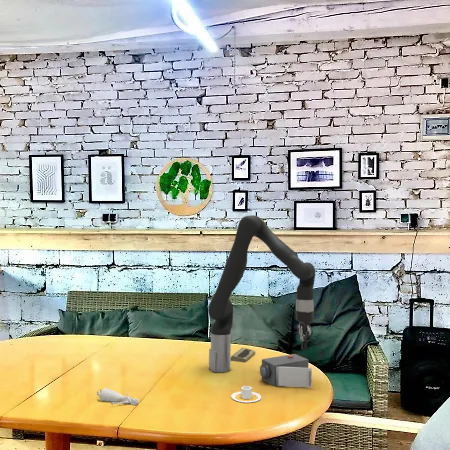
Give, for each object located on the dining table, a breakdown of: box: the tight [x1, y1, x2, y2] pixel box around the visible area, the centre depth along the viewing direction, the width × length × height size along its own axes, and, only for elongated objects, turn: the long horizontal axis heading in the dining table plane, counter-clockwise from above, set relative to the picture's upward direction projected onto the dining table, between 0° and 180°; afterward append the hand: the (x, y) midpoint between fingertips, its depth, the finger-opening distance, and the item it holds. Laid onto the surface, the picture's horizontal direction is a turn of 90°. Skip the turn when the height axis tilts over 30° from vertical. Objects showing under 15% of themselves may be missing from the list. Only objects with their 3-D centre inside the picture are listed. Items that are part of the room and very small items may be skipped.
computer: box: [230, 347, 256, 363], centre depth 256 cm, size 16×8×3 cm, turn 159°
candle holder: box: [231, 385, 262, 403], centre depth 202 cm, size 12×12×4 cm
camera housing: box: [259, 353, 309, 387], centre depth 222 cm, size 20×10×10 cm, turn 119°
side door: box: [275, 366, 313, 388], centre depth 213 cm, size 15×2×8 cm, turn 84°
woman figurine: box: [96, 387, 140, 406], centre depth 197 cm, size 12×4×18 cm
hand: (304, 349), depth 217 cm, fingers closed
